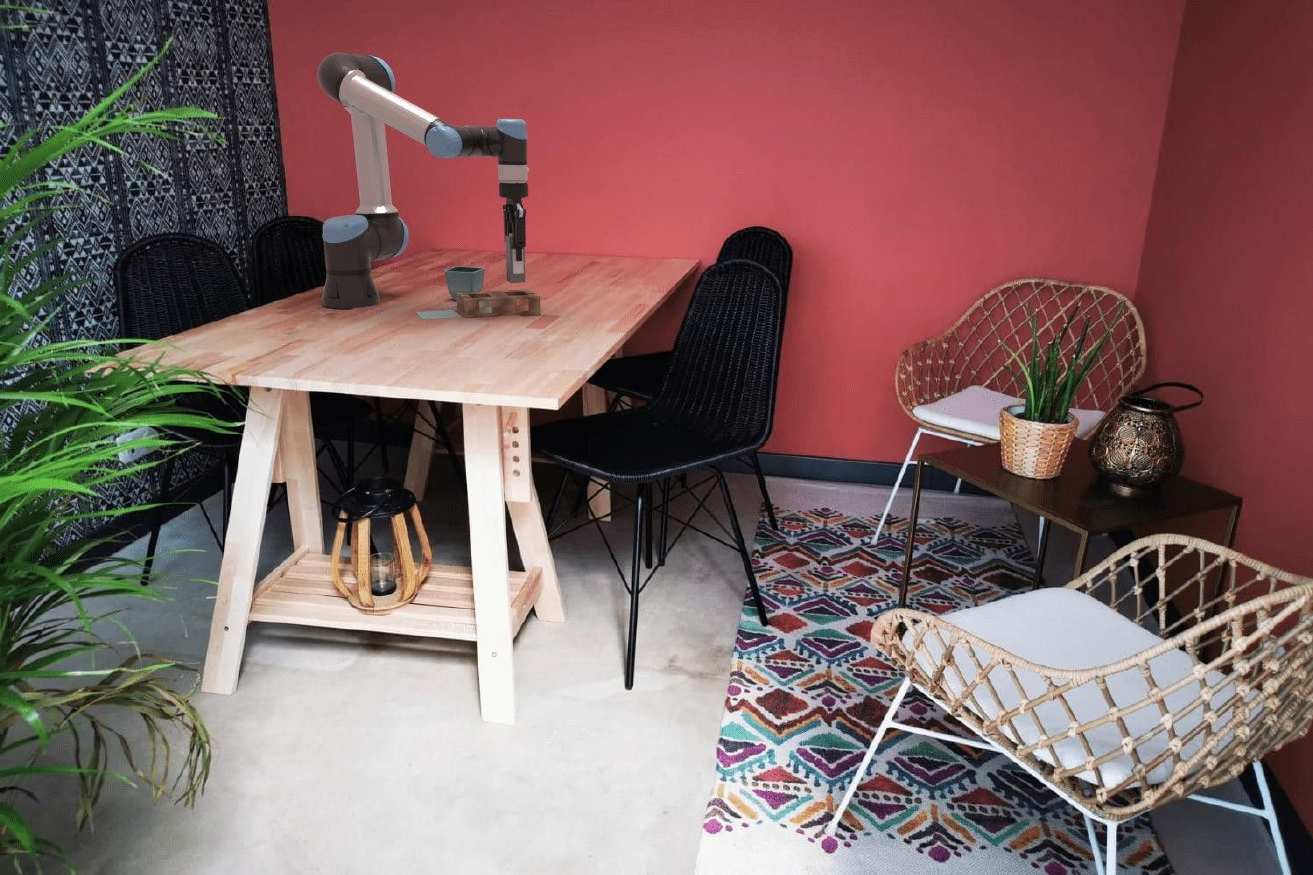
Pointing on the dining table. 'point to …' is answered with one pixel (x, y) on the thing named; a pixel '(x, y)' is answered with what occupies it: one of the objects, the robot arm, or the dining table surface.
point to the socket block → (498, 303)
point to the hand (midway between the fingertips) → (515, 271)
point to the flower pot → (464, 280)
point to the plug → (509, 262)
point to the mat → (438, 314)
